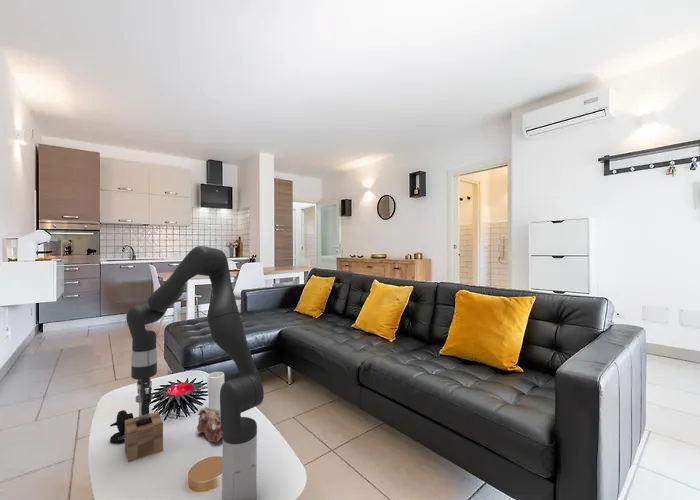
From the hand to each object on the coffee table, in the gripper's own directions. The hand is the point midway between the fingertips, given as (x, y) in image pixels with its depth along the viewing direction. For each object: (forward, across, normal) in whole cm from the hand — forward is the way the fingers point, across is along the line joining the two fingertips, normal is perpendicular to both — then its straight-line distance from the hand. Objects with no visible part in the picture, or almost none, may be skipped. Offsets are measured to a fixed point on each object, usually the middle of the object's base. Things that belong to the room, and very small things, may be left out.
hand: (144, 410), depth 113 cm
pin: (+5, 0, 0) cm, 5 cm away
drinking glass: (+13, +13, -28) cm, 34 cm away
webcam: (+13, +12, +5) cm, 19 cm away
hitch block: (+13, 0, 0) cm, 13 cm away
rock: (+14, -5, -22) cm, 26 cm away
